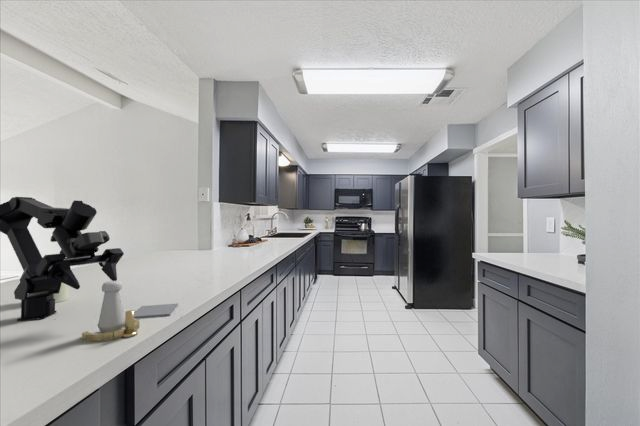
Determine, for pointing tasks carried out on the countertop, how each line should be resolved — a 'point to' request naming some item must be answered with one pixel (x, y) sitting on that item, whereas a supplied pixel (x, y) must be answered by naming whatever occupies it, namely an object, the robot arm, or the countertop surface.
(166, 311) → the coaster
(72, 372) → the countertop surface
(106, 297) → the salt shaker
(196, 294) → the countertop surface
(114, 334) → the gold curved piece
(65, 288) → the can
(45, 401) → the countertop surface
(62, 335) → the countertop surface
